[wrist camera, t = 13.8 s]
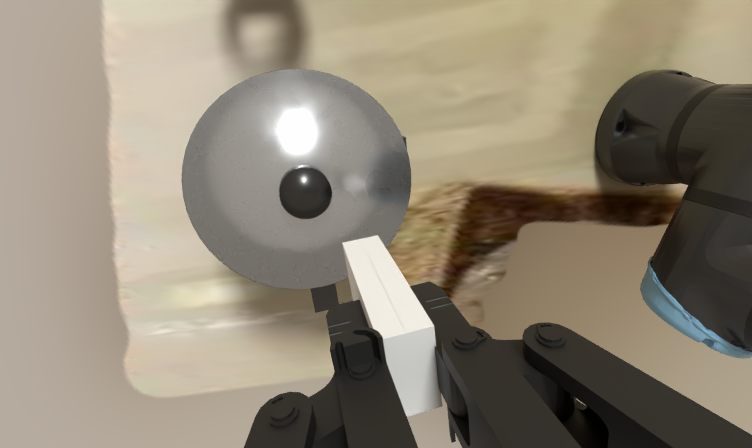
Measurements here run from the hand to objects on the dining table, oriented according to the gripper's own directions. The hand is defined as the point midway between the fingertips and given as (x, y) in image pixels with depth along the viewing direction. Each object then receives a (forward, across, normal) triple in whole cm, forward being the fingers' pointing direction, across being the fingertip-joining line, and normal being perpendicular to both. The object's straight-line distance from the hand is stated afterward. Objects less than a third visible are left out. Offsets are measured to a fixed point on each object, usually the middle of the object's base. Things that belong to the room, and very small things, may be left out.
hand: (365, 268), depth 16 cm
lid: (+18, +2, 0) cm, 18 cm away
